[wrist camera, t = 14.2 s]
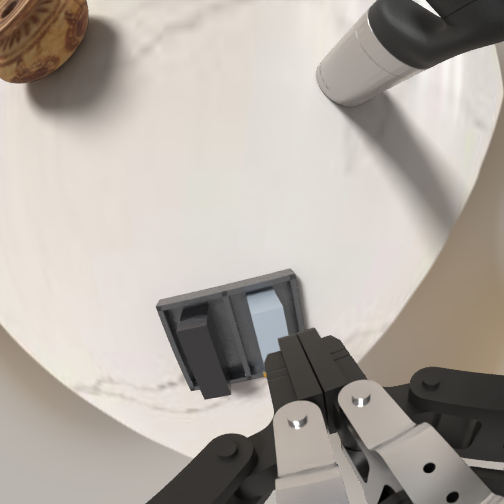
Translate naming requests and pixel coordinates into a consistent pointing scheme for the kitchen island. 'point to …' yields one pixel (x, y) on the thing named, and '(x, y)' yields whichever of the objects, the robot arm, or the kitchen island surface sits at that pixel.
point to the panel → (267, 320)
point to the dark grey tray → (224, 331)
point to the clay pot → (38, 36)
